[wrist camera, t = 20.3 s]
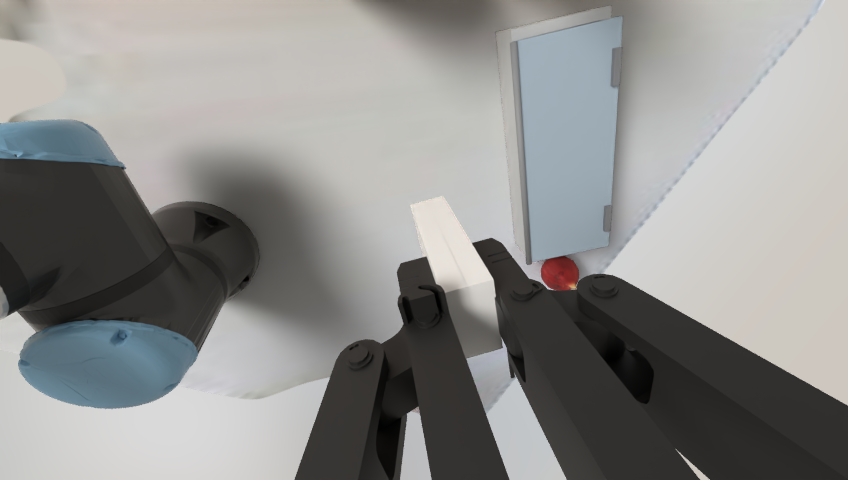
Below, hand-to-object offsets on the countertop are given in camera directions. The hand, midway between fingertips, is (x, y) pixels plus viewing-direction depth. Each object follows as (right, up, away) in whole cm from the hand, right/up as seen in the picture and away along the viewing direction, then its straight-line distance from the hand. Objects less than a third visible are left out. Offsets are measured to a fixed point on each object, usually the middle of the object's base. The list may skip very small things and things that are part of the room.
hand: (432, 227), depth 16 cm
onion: (+22, -4, +46) cm, 51 cm away
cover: (+13, +9, +31) cm, 35 cm away
